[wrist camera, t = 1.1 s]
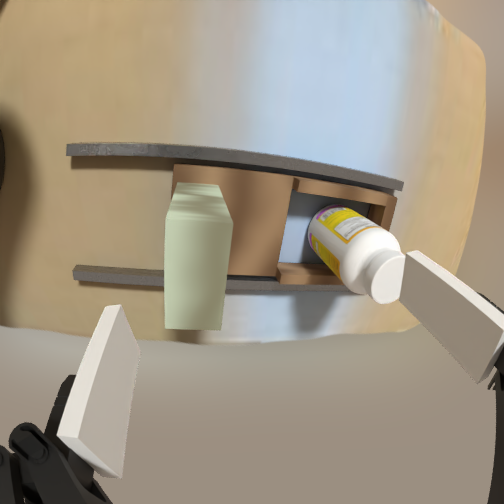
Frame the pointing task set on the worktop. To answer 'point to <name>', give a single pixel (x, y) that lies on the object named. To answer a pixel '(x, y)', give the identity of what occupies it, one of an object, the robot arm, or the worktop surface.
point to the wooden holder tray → (238, 235)
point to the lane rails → (218, 155)
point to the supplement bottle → (358, 252)
